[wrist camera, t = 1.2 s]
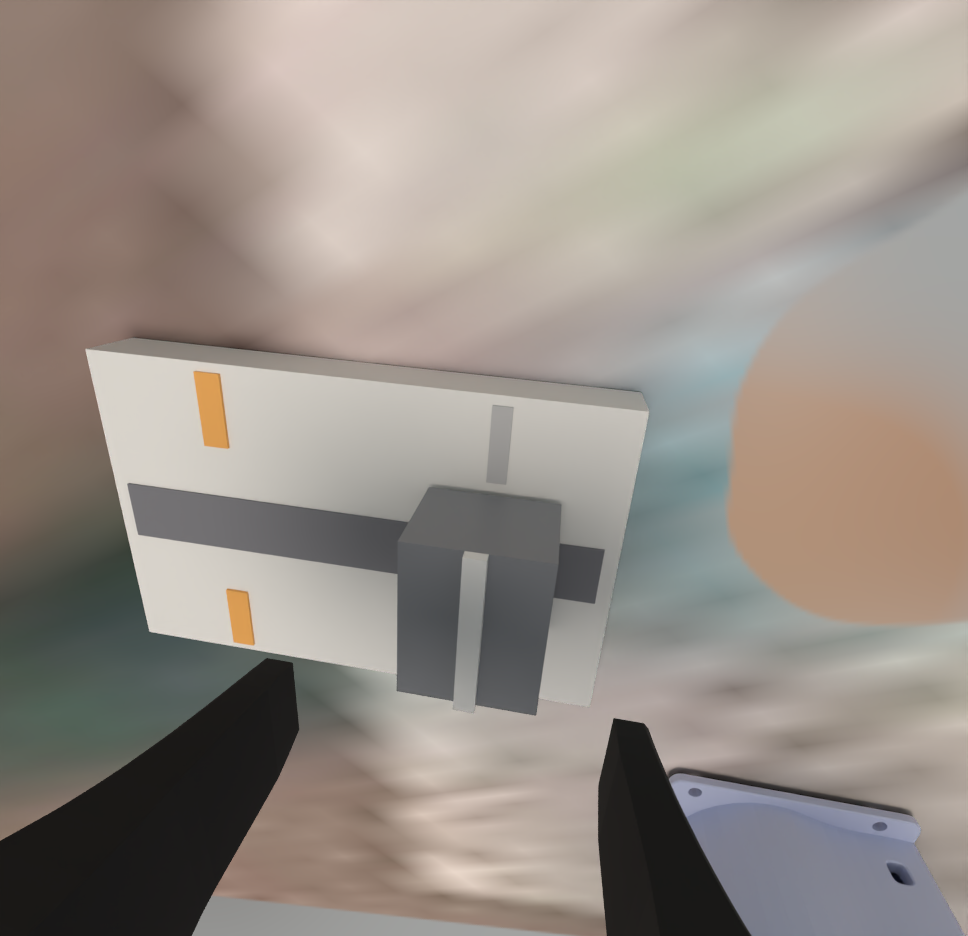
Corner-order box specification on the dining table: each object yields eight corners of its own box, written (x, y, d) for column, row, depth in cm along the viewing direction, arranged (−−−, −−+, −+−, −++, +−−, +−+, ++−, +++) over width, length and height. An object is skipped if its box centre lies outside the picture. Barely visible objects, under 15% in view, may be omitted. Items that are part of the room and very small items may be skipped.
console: (641, 392, 17) (649, 412, 15) (588, 666, 21) (589, 709, 19) (133, 337, 19) (82, 349, 17) (183, 600, 23) (147, 633, 21)
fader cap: (561, 504, 16) (558, 571, 13) (542, 637, 18) (535, 724, 15) (429, 486, 16) (393, 547, 13) (424, 619, 19) (393, 699, 15)
